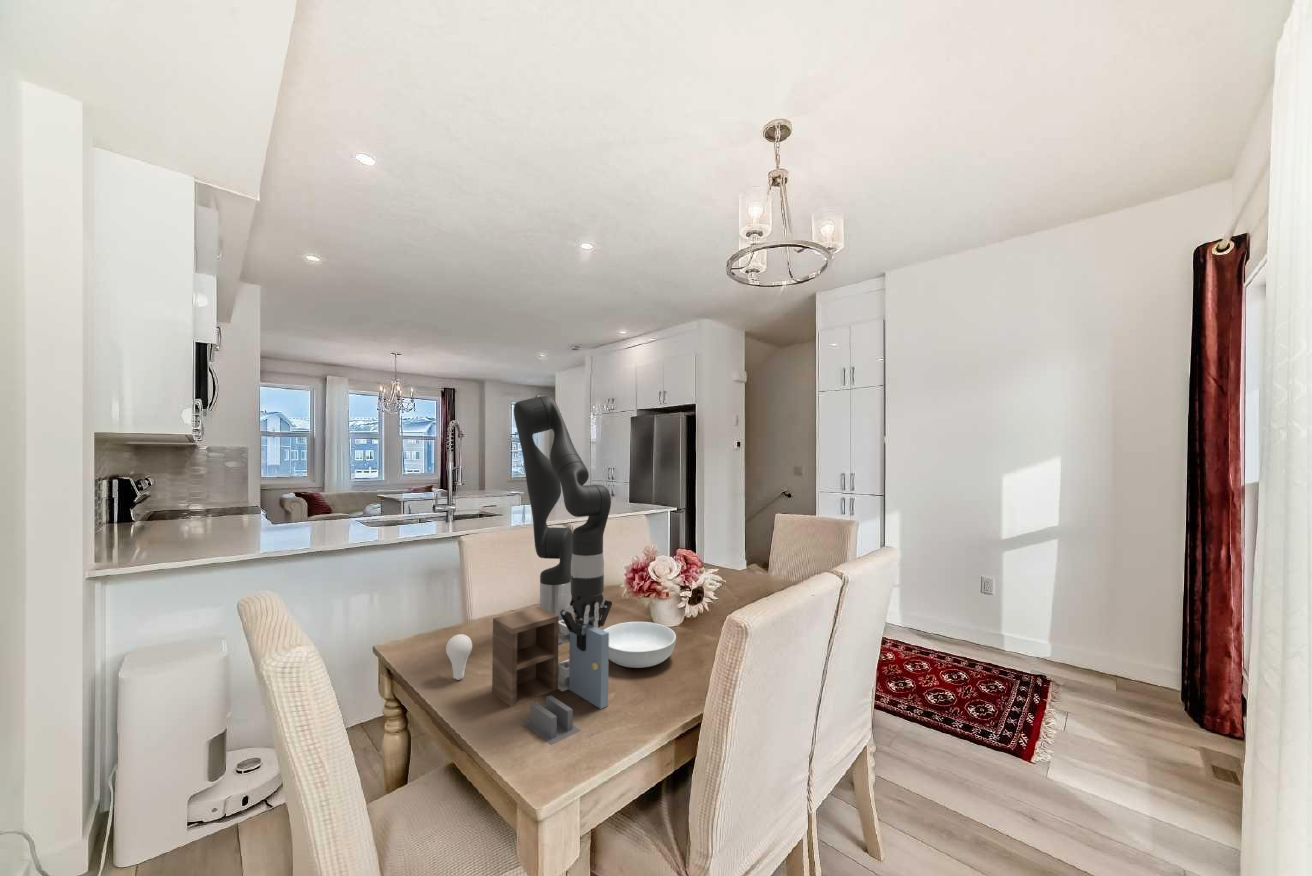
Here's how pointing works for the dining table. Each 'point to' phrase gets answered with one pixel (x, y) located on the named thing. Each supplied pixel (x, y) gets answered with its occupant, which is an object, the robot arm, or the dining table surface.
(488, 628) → the dining table surface
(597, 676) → the cabinet door
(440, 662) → the dining table surface
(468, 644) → the lightbulb
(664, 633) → the serving bowl
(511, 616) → the cabinet
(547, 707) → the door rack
